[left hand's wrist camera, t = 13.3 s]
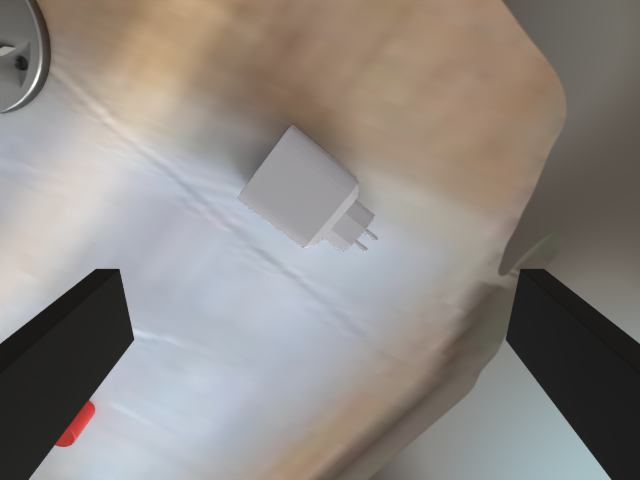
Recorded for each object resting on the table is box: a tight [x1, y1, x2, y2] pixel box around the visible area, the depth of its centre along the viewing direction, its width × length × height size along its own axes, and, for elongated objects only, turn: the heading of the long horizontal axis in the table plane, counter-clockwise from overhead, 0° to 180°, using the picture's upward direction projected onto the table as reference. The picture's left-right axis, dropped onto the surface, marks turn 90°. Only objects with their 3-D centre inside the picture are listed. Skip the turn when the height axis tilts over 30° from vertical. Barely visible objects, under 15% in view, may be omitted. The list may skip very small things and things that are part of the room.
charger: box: [236, 124, 378, 252], centre depth 41 cm, size 5×9×15 cm
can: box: [55, 401, 95, 447], centre depth 52 cm, size 4×4×5 cm
